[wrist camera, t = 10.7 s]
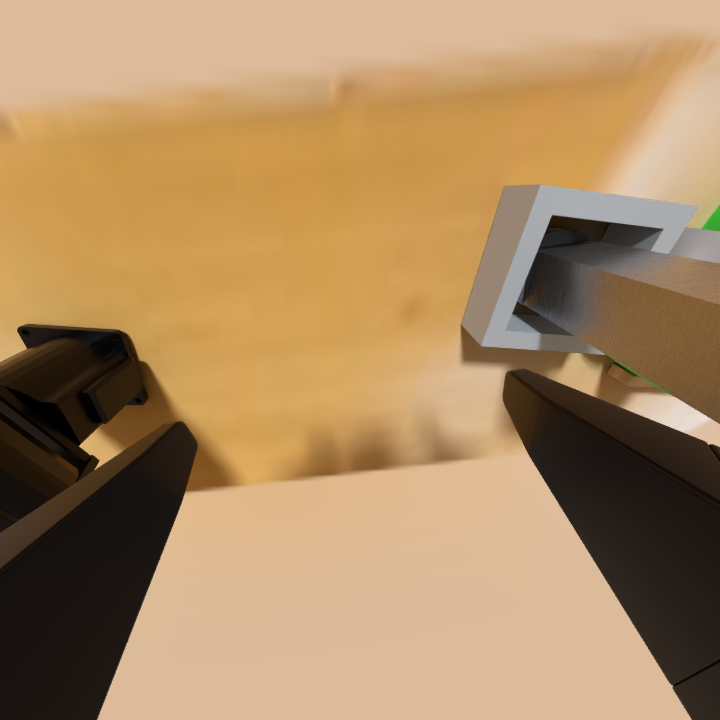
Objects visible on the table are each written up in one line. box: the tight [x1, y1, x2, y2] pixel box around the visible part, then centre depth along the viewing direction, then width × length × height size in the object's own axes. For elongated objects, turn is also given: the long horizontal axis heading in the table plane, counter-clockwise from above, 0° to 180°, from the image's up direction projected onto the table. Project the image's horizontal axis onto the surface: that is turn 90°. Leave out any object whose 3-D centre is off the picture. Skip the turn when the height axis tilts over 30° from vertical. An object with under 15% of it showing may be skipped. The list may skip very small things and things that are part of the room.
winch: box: [461, 185, 720, 355], centre depth 18 cm, size 14×9×4 cm, turn 84°
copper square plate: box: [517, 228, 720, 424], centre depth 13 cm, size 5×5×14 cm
